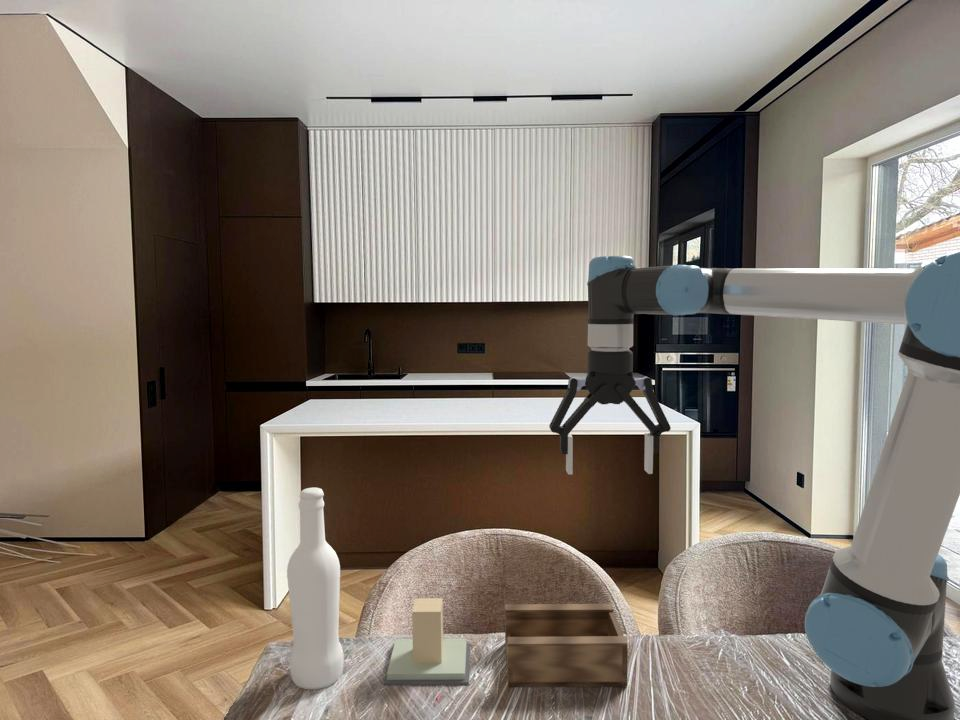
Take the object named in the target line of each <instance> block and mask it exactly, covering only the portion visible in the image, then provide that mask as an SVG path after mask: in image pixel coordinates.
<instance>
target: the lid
mask: <svg viewBox="0 0 960 720" xmlns="http://www.w3.org/2000/svg"><path fill="white" fill-rule="evenodd" d="M443 601H444V599H443V597H442V598H441V597H438V598H436V597H433V598H431V597H430V598H429V597H428V598H426V597H425V598H418V597H417V598H415V599H414V602H413V607H412V610H411V618H412V619H411V621H412V622H411V625H412V629H411V630H412V633H411V634H412V638H396V639H395V640H394V643H393V644H394V648H393V647H392V648H393V651H392V650H391V652H392V655H391V654H390V656H391V659H390V658H389V660H390V663H389V662H388V664H389V667H388V666H387V668H388V671H387V670H386V671H387V680H465V667H466V646H467V643H468V642H467V638H444V614H443V613H444V607H443V606H444V605H443V604H444V602H443Z"/></svg>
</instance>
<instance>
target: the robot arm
mask: <svg viewBox="0 0 960 720" xmlns="http://www.w3.org/2000/svg"><path fill="white" fill-rule="evenodd" d="M587 277H588V278H587V282H586V286H587V301H588V302H587V303H588V319H587V346H588V347H589V348H590V350H588V351H587V369H586V370H587V372H586V373H587V374H586V377H585V379H584V378H576V377H575V376H570V377H569V378H568V384H567V390H566V392H565V393H564V395H563V398H562V399H561V401H560V404H559V406H558V407H557V410H556V412H555V413H554V416H553V418H552V419H551V421H550V423H549V430H550V431H551V432H552V433H553V434H554V433H555V434H557V435H559V451H560V453H561V455H565V471H566V473H567V475H573V471H574V469H573V466H574V465H573V462H574V461H573V460H574V459H573V457H574V455H573V454H574V453H573V451H574V450H573V449H574V447H573V446H574V444H573V443H574V440H573V439H574V438H573V435H572V433H571V432H572V431H573V429H575V428H576V426H577V425H578V424H579V423H580V421H581V420H582V419H583V418H584V416H586V414H587V413H588V412H589V411H590V410H591V409H592V408H593V407H594V406H595V405H596V404H597V403H598V404H600V405H609V404H613V405H620V404H622V403H623V402H624V403H625V404H626V405H627V406H628V407H629V409H630V410H631V411H632V412H633V413H634V414H635V416H636V417H637V418H638V419H639V420H640V421H641V423H642V424H643V425H644V426H645V427H646V428H647V430H648V431H649V432H645V433H644V455H643V457H644V458H643V459H644V461H643V463H644V467H643V468H644V471H645V472H646V473H647V475H652V474H653V472H654V471H653V470H654V454H658V453H659V451H660V436H661V435H662V433H665V432H670V431H671V425H670V423H669V421H668V419H667V417H666V415H665V412H664V411H663V408H662V407H661V404H660V402H659V401H658V398H657V397H656V394H655V393H654V391H653V390H654V389H653V381H652V379H651V378H650V377H648V376H646V375H645V376H642V377H640V378H634V375H633V373H634V371H633V370H634V369H633V367H634V353H633V351H632V350H630V348H633V346H634V315H641V314H642V315H643V314H644V315H645V314H646V315H671V316H675V317H677V316H686V315H696V314H717V315H719V314H720V315H738V316H739V315H740V316H741V315H742V316H756V317H758V316H759V317H761V316H762V317H776V318H789V319H790V318H791V319H792V318H793V319H804V320H805V319H807V320H808V319H809V320H825V321H826V320H827V321H839V322H841V321H843V322H855V323H856V322H861V323H874V324H876V323H877V324H889V325H892V324H893V325H904V326H906V327H905V331H904V334H903V336H902V341H901V343H900V347H899V350H898V352H897V354H898V356H899V358H900V359H901V360H902V362H903V364H904V365H905V366H906V369H907V374H906V377H905V380H904V383H903V387H902V389H901V392H900V395H899V398H898V402H897V403H896V407H895V410H894V413H893V415H892V419H891V421H890V426H889V429H888V432H887V434H886V438H885V441H884V443H883V447H882V450H881V454H880V456H879V459H878V462H877V465H876V468H875V472H874V475H873V477H872V480H871V484H870V487H869V490H868V493H867V496H866V499H865V503H864V505H863V509H862V511H861V514H860V517H859V520H858V524H857V527H856V530H855V532H854V535H853V540H852V542H851V544H850V545H849V546H847V547H842V548H840V549H837V550H836V551H835V552H834V554H833V556H832V559H831V562H830V565H829V567H828V571H827V574H826V577H825V580H824V584H823V587H822V590H821V592H820V594H819V595H818V596H817V597H815V598H814V599H812V601H811V602H810V604H809V606H808V607H807V610H806V613H805V617H804V630H805V634H806V638H807V641H808V643H809V645H810V646H812V649H813V651H815V655H816V656H817V657H818V659H820V661H821V662H822V663H823V664H824V665H825V666H826V667H827V668H828V669H829V670H830V689H831V691H832V693H833V694H834V695H835V697H836V698H837V699H838V700H839V701H840V702H841V703H842V704H843V705H845V706H846V707H847V708H849V709H850V710H852V711H853V712H855V713H856V714H858V715H860V716H862V717H863V718H865V719H868V720H955V712H956V711H955V709H956V708H955V707H956V704H955V698H954V695H953V692H952V688H951V685H950V682H949V679H948V676H947V672H946V670H945V667H944V663H943V648H944V647H943V645H944V632H945V630H944V628H945V619H946V618H945V615H946V603H947V602H946V601H947V600H946V599H947V585H948V582H949V581H950V578H949V576H948V563H947V561H946V560H945V558H944V557H943V556H942V555H940V554H939V551H940V550H941V546H942V544H943V541H944V539H945V536H946V533H947V531H948V527H949V524H950V522H951V519H952V516H953V513H954V512H955V508H956V506H957V502H958V501H959V497H960V248H959V249H956V250H953V251H949V252H947V253H946V254H944V255H942V256H940V257H938V258H936V259H934V260H932V261H930V260H928V261H924V262H923V263H921V264H920V265H919V266H917V267H916V268H752V267H751V268H742V267H741V268H738V267H737V268H727V267H724V268H720V267H719V268H717V267H711V268H710V267H707V268H706V267H700V266H698V265H692V264H691V265H687V264H673V265H663V266H648V267H638V266H637V267H636V264H635V259H634V258H633V257H632V256H630V255H629V256H628V255H610V256H609V255H608V256H607V255H606V256H604V255H603V256H596V257H594V258H591V260H590V261H589V264H588V275H587ZM636 386H637V388H638V389H639V390H640V391H642V393H643V395H644V397H645V399H646V401H647V404H648V406H649V407H650V410H651V412H652V414H653V416H654V418H655V420H656V421H657V424H655V423H654V422H653V421H652V420H651V418H650V417H649V416H648V415H647V413H645V411H644V410H643V409H642V408H641V406H640V405H639V404H638V403H637V402H636V400H635V399H634V398H633V396H632V395H630V394H631V392H632V391H633V390H634V388H635V387H636ZM582 387H585V388H586V390H587V391H588V394H587V395H586V396H585V397H584V399H583V401H582V402H580V404H579V406H577V408H576V409H575V410H574V412H572V414H571V415H570V416H569V417H568V418H567V419H566V421H565V422H564V423H563V420H564V419H565V416H566V415H567V412H568V411H569V410H570V407H571V405H572V403H573V401H574V399H575V397H576V395H577V392H579V391H581V390H582ZM562 423H563V424H562ZM561 424H562V425H561Z"/></svg>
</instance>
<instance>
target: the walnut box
mask: <svg viewBox="0 0 960 720" xmlns="http://www.w3.org/2000/svg"><path fill="white" fill-rule="evenodd" d="M613 607H614V606H613V605H612V603H543V604H542V603H537V604H536V603H535V604H533V603H530V604H529V603H528V604H527V603H526V604H525V603H524V604H522V603H519V604H517V603H515V604H504V634H505V635H504V637H505V638H504V645H506V647H505V660H506V674H507V675H506V677H507V687H508V688H583V687H584V688H588V687H589V688H594V687H595V688H598V687H599V688H601V687H602V688H603V687H604V688H606V687H607V688H608V687H609V688H612V687H613V688H614V687H615V688H616V687H617V688H618V687H622V686H627V687H628V657H629V656H628V655H629V654H628V649H629V648H628V646H629V644H628V643H629V642H628V641H627V638H626V636H625V635H624V634H623V632H622V629H621V627H620V624H619V621H618V620H617V617H616V614H615V612H614V608H613ZM622 688H623V687H622Z"/></svg>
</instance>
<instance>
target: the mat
mask: <svg viewBox="0 0 960 720" xmlns="http://www.w3.org/2000/svg"><path fill="white" fill-rule="evenodd" d="M394 644H395V643H393V644H392V649H391V652H390V657H389V661H388V663H387V664H388V665H387V669H386V673H385V674H384V675H385V676H384V680H383V686H467V685H468V686H469V685H470V662H471V660H470V659H471V656H470V655H471V643H469V642H467V646H466V667H465V680H387V671H388V667H389V663H390V659H391V655H392V651H393V648H394Z"/></svg>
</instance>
